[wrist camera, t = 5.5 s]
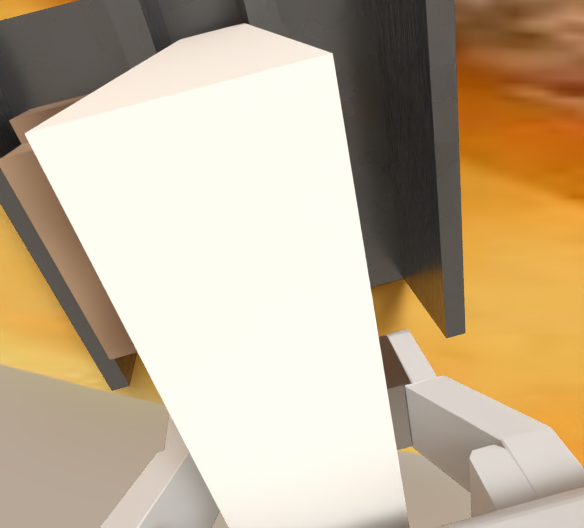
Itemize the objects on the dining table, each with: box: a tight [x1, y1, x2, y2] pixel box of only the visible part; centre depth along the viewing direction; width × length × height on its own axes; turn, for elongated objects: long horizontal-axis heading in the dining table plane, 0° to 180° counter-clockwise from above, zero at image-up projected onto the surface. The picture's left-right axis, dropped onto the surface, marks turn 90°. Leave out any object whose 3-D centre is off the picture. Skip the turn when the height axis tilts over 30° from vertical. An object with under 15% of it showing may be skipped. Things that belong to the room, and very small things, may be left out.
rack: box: [0, 0, 465, 391], centre depth 21 cm, size 19×18×7 cm
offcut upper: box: [0, 143, 137, 360], centre depth 20 cm, size 5×10×2 cm, turn 13°
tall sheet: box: [24, 23, 409, 528], centre depth 13 cm, size 2×14×15 cm, turn 13°
